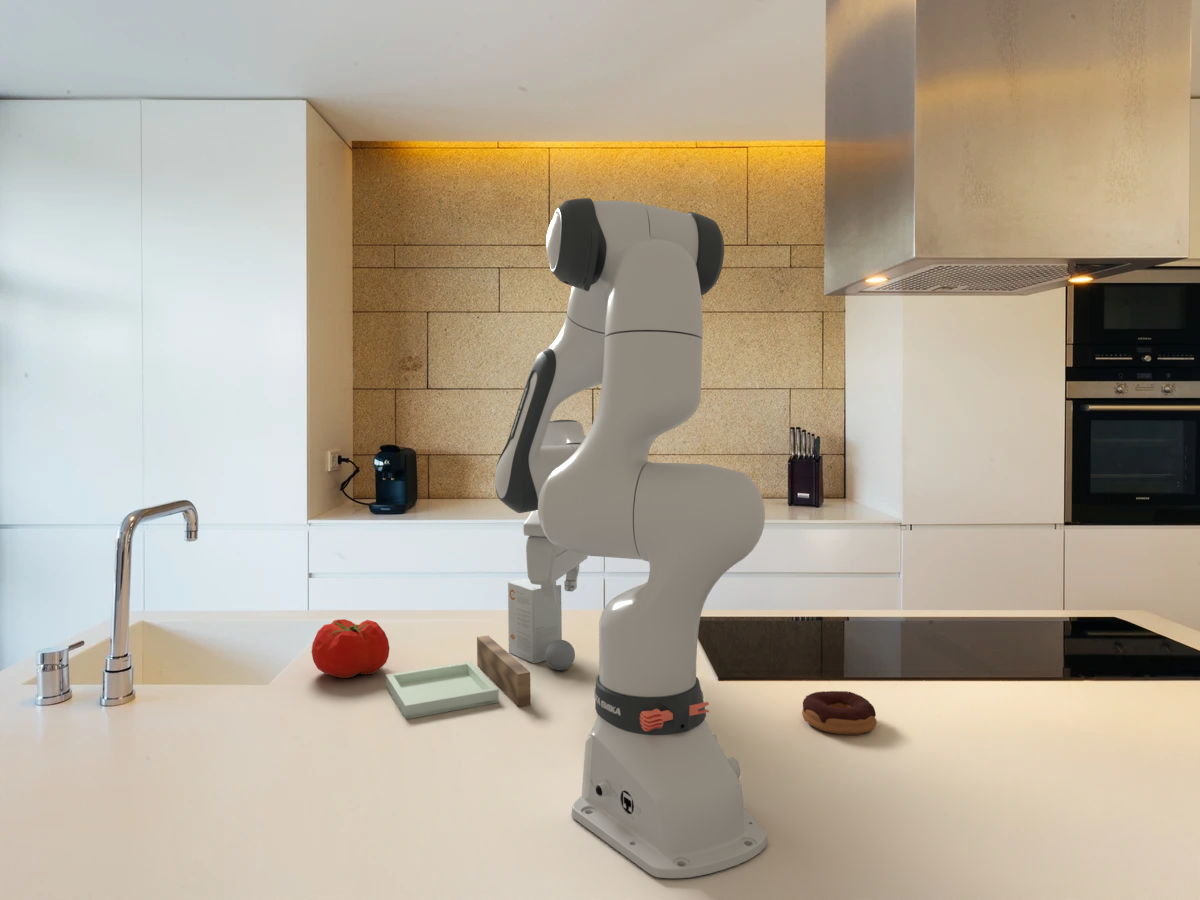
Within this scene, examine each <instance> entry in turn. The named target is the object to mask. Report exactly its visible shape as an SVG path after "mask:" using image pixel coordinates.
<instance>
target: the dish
mask: <svg viewBox="0 0 1200 900" xmlns="http://www.w3.org/2000/svg"><path fill="white" fill-rule="evenodd" d="M497 687H498V686H497V685H496V684H495V683H494V682H493V681H492V680H491V679H490V678H489V677H488V676H487V675H486V674H485V673H484V672H483V671H482V670H481V669H480V668H479V667H478V666H476V665H475V664H474V663H473V662H472V661H471V660H470V661H466V662H459V663H458V662H457V663H452V664H445V665H438V666H434V667H426V668H425V667H424V668H419V669H414V670H407V671H402V672H394V673H388V674H385V688H386V689H387V691H388V692H389V694H390V695H391V697H392V700H393V701H394V702H395V704H396V705H397V707H398V709H399V711H400V712H401V714H402V716H403V717H404V719H405V720H408V719H414V718H420V717H426V716H432V715H437V714H443V713H447V712H452V711H453V712H454V711H459V710H464V709H469V708H476V707H480V706H481V707H482V706H486V705H492V704H498V703H499V702H500V701H499V699H500V698H499V691H500V689H499V687H498V688H497Z"/></svg>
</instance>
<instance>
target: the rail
mask: <svg viewBox="0 0 1200 900" xmlns="http://www.w3.org/2000/svg"><path fill="white" fill-rule="evenodd" d="M476 659H477V660H476V662H477V666H476V667H477V668H478V669H479V670H480V671H481V672H482V673H483V674H484V675H485V676H486V677H487V678H488V679H489V680H490V681H491V682H492V683H493V684H494V685H495V686H496V687H498V689H499V690H501V692H502V693H503V694H505V695H506V696H507V698H508V699H509V700H511V701H512V703H513V704H514V705H515V706H516V707H518V708H521V707H527V706H530V705H532V704H531V699H532V698H531V672H530V671H529V669H527V668H526V667H525V666H524V665H523V664H521V662H519V661H518V660H517V659H516V658H515V657H513V656H512V654H511V653H509V651H507V650H505V648H503V647H502V646H501V645H500V644H499V643H498V642H497V641H495V640H494V639H493V638H492V637H490V636H489V635H481V636H476Z"/></svg>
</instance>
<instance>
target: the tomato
mask: <svg viewBox="0 0 1200 900" xmlns="http://www.w3.org/2000/svg"><path fill="white" fill-rule="evenodd" d="M386 634H387V633H386V632H385V631H384V630H383V628H382V627H381V626H380V624H378V623H377V622H376V621H373V620H369V619H366V620H363V621H362V622H360V623H359V624H356V623H354V622H353V621H351V620H349V619H346V618H345V619H335V620H333V621H332V622H330V623H327V624H323V626H322V627H320V629H319V630H318V631H317V632H316V635H315V637H314V640H313V642H312V646H311V656H312V661H313V663H314V665H315V667H316V668H317V669H318V671H320V672H321V673H325V674H328V675H331V676H332V677H336V678H342V679H348V678H352V677H354V676H356V675H358V674H362V675H364V676H365V675H366V676H367V675H371V674H374V673H376V672H378V671H379V670H380V669H381V668H383V666H384V665H385V664H386V663H387V661H388V658H389V654H390V645H389V643H390V642H389V638H388V636H387V635H386Z"/></svg>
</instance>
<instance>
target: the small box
mask: <svg viewBox="0 0 1200 900" xmlns="http://www.w3.org/2000/svg"><path fill="white" fill-rule="evenodd" d="M555 592H556V594H558V603H557V604H556V605H555V606H554V607H547V606H545V601H544V594H543V592H542V589H541V585H536V584H532V583H531V582H530V580H529V578H523V579H521V578H520V579H517V580H511V581H508V582H507V597H508V598H507V599H508V601H507V605H508V606H507V610H508V613H507V614H508V615H507V620H508V621H507V622H508V623H507V624H508V625H507V626H508V653H509V654H510V655H514V656H516V657H518V658H520V659H523V660H524V661H527V662H529V663H532V664H538V663H541V662H547V661H546V657H545V653H546V649H547V647H548V646H549V645H550V644H551V643H552V642H553V641H556V640H563V638H562V637H563V635H562V634H563V633H562V632H563V631H562V629H563V628H562V625H563V624H562V614H563V613H562V584H560V583H557V582H556V586H555Z"/></svg>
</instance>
